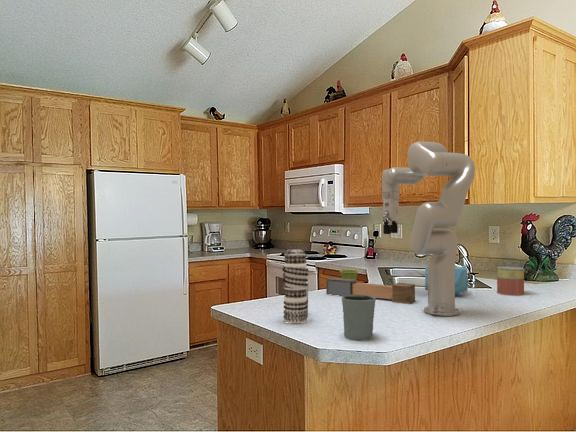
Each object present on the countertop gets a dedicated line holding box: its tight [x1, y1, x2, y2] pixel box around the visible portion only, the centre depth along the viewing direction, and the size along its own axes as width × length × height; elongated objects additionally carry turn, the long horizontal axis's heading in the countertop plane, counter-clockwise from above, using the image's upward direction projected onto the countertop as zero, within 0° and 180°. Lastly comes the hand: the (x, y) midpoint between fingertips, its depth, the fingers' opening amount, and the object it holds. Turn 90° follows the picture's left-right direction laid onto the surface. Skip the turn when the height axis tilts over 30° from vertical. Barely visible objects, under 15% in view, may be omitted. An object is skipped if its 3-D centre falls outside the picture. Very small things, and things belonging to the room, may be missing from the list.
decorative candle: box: [281, 248, 309, 324], centre depth 147 cm, size 9×9×25 cm
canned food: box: [496, 265, 525, 297], centre depth 196 cm, size 11×11×12 cm
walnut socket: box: [391, 282, 416, 305], centre depth 179 cm, size 7×8×7 cm
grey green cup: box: [341, 295, 377, 341], centre depth 129 cm, size 10×10×12 cm
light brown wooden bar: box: [351, 282, 392, 300], centre depth 186 cm, size 4×26×5 cm, turn 57°
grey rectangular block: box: [325, 276, 358, 297], centre depth 195 cm, size 7×12×7 cm, turn 57°
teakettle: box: [424, 263, 469, 297], centre depth 194 cm, size 19×19×15 cm
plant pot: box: [339, 269, 359, 279], centre depth 212 cm, size 9×9×9 cm
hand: (390, 233), depth 194 cm, fingers open, 9 cm apart
